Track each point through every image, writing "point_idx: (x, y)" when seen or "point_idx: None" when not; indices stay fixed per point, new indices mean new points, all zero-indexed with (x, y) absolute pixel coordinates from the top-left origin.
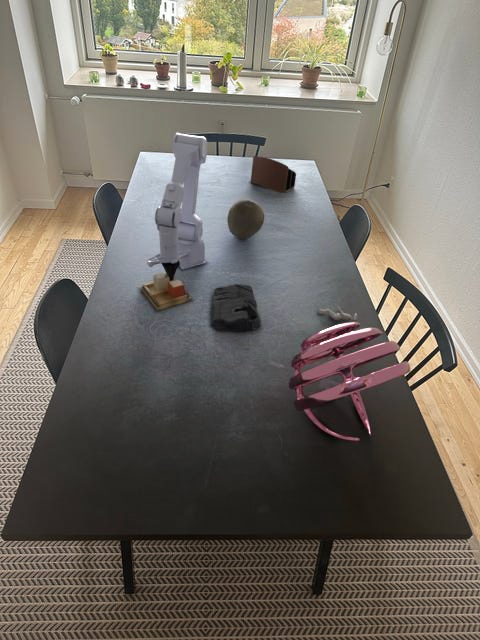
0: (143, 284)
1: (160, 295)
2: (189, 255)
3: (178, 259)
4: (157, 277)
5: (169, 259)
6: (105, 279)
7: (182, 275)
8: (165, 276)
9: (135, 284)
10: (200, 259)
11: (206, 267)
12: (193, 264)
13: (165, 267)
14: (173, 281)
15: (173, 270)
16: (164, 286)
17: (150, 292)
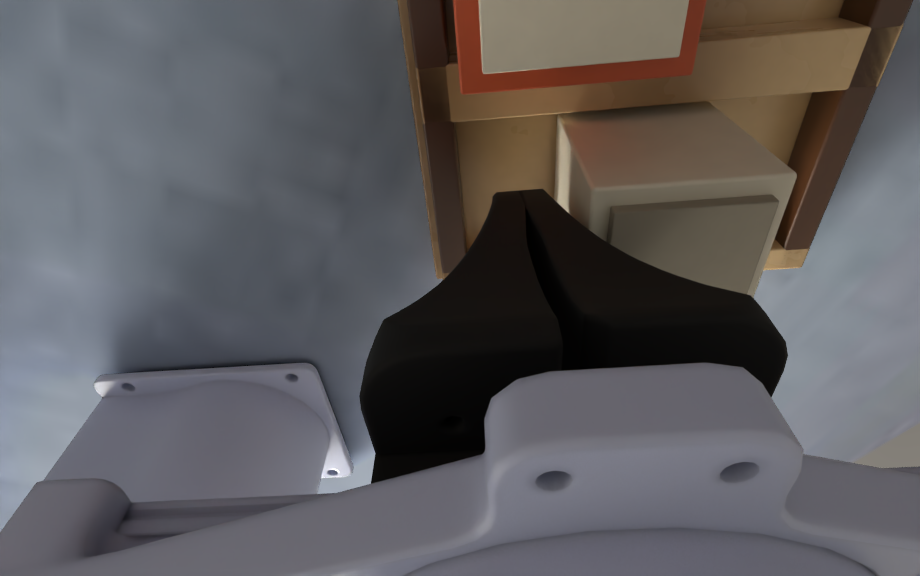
0: (787, 267)
1: (729, 26)
2: (50, 519)
3: (394, 482)
4: (755, 250)
5: (799, 572)
6: (890, 421)
7: (333, 299)
8: (637, 232)
9: None
10: (126, 416)
11: (91, 329)
12: (204, 385)
13: (779, 334)
14: (601, 36)
15: (522, 268)
16: (645, 129)
17: (846, 96)
